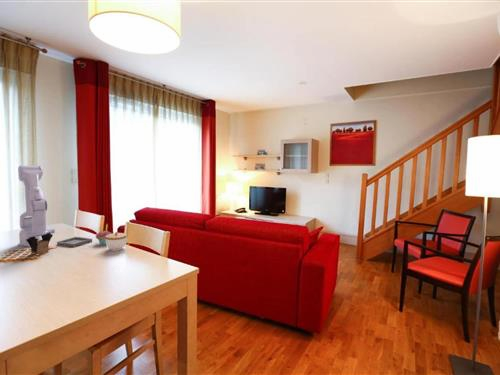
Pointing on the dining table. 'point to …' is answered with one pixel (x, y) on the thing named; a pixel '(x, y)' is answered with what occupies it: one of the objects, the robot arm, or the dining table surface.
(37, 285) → the dining table surface
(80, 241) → the slate tray
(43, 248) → the walnut block
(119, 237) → the lidded jar
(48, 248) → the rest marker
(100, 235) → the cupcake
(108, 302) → the dining table surface
